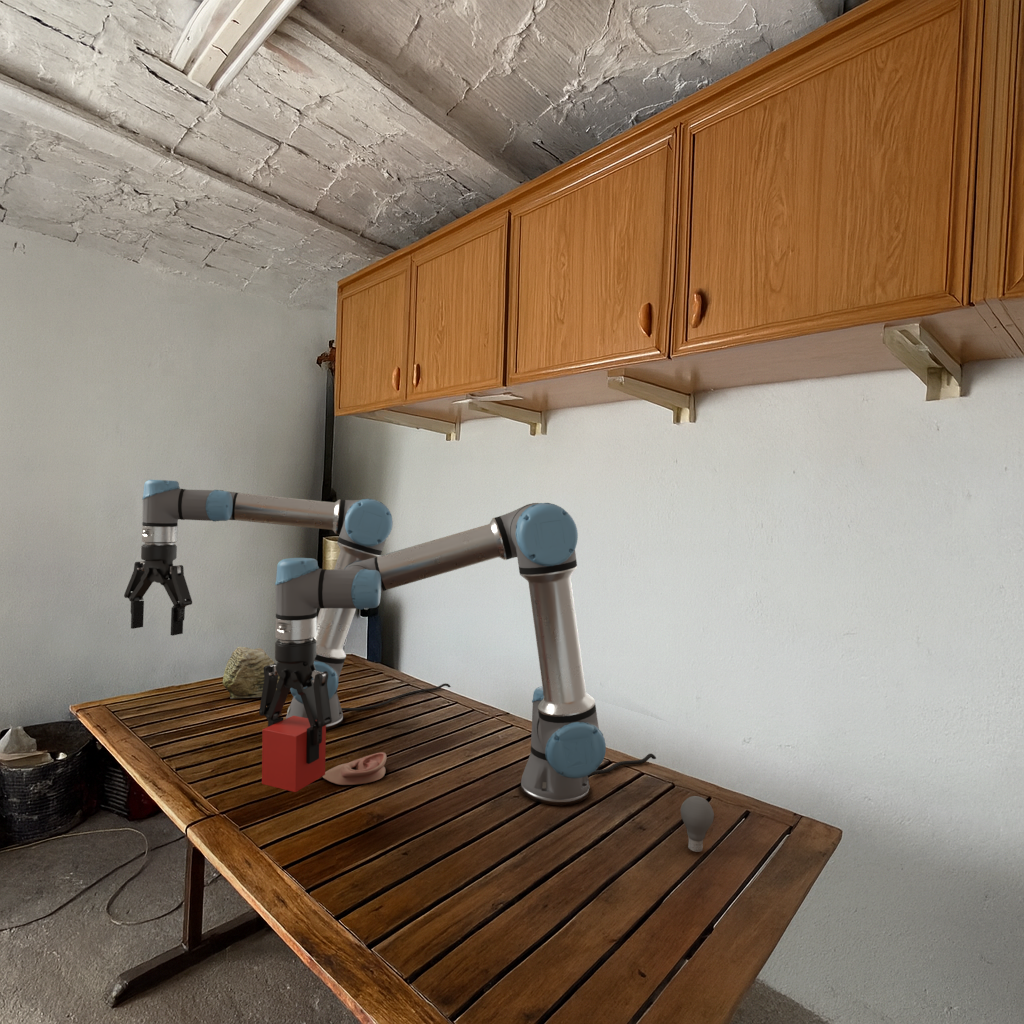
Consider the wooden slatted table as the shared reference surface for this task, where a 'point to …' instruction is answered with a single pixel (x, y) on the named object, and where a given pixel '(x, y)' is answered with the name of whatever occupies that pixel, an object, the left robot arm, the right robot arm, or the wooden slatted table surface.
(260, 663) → the fossil
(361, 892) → the wooden slatted table surface
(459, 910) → the wooden slatted table surface
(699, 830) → the light bulb
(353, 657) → the wooden slatted table surface
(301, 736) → the brick
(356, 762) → the anatomical model
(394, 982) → the wooden slatted table surface
